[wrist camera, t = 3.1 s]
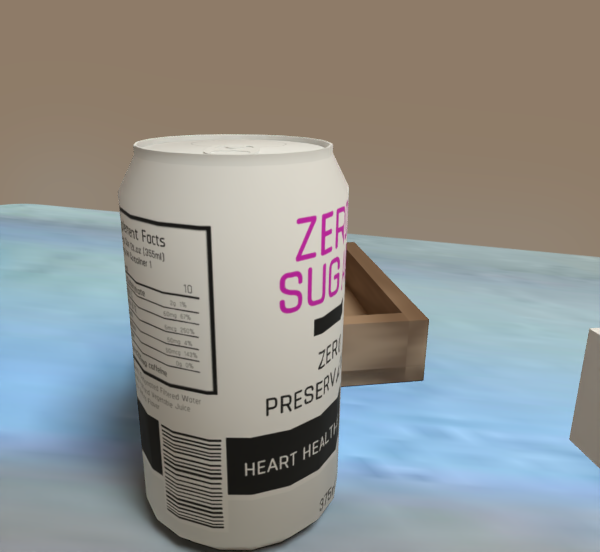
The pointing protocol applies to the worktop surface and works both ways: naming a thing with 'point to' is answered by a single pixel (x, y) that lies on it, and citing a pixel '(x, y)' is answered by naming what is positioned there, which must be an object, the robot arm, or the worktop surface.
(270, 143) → the supplement can
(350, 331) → the walnut tray
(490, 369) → the worktop surface
